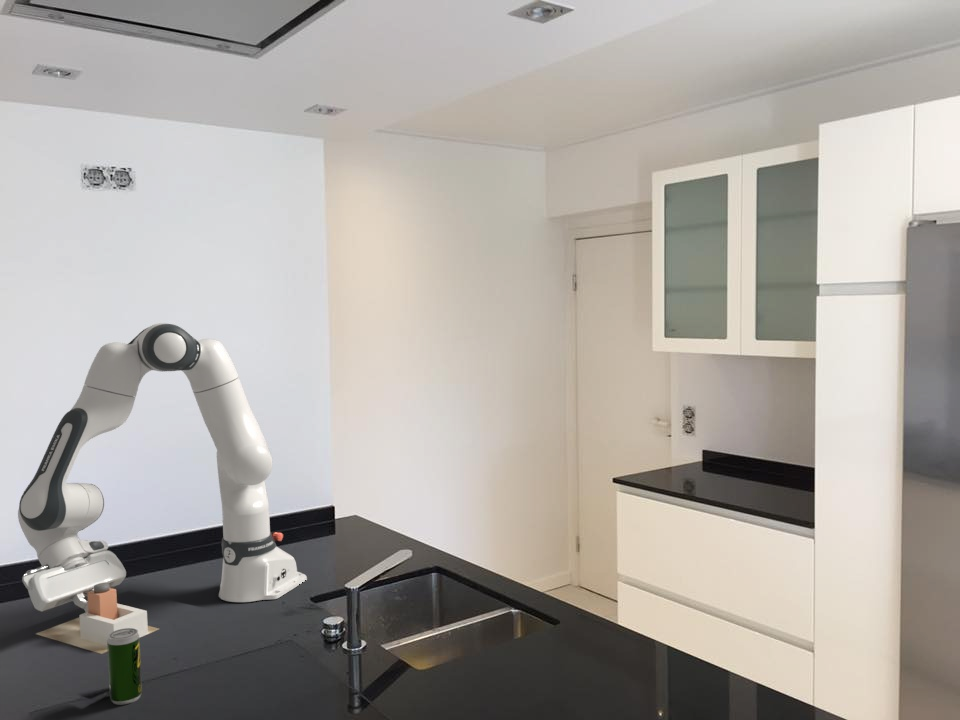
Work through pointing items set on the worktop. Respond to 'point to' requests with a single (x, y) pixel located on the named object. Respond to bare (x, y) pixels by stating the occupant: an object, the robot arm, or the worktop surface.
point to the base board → (76, 636)
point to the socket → (112, 624)
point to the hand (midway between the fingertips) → (95, 611)
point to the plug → (103, 601)
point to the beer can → (124, 666)
